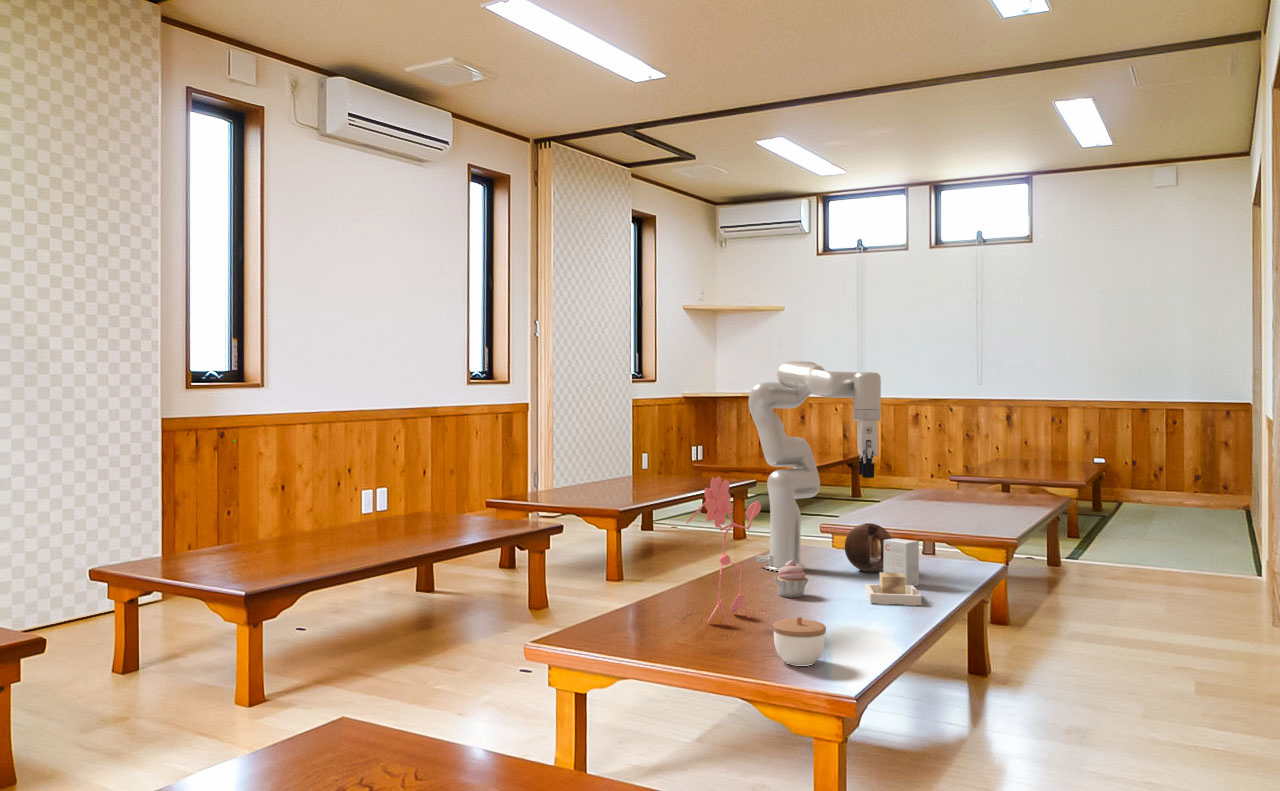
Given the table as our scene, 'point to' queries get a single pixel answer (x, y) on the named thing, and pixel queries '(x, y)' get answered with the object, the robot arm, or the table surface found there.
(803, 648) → the lidded jar
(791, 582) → the cupcake
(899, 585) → the cube
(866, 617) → the table surface
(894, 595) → the tray
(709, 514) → the figurine
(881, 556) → the wooden sphere
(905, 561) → the small box
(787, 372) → the robot arm
